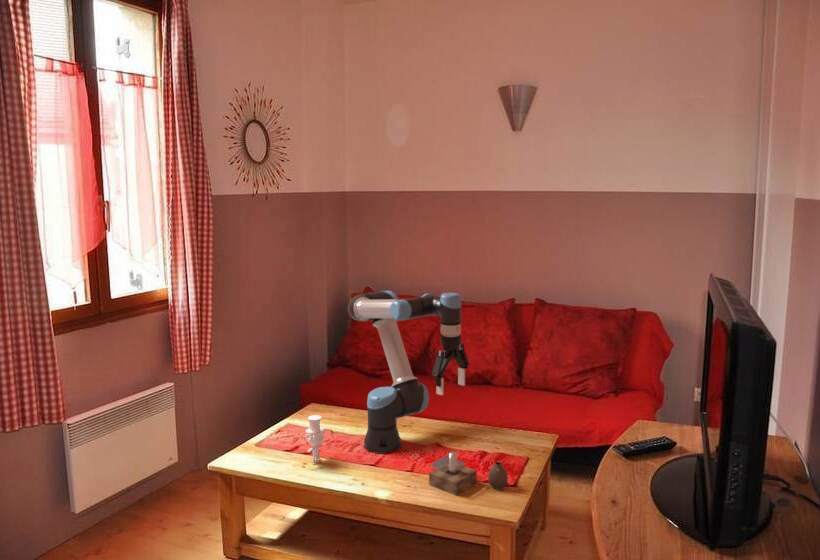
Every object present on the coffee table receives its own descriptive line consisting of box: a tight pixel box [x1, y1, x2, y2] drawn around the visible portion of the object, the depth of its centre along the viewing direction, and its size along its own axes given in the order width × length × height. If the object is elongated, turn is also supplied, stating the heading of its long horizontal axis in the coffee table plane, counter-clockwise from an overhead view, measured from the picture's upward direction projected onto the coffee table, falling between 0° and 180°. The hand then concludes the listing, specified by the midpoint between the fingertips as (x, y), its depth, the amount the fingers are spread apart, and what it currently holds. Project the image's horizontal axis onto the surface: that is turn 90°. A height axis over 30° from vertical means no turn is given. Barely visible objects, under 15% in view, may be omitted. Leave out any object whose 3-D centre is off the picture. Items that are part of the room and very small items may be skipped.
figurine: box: [303, 414, 326, 464], centre depth 249 cm, size 10×8×18 cm
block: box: [428, 462, 478, 497], centre depth 230 cm, size 12×12×5 cm
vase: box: [487, 461, 509, 490], centre depth 229 cm, size 7×7×9 cm
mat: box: [429, 455, 467, 469], centre depth 246 cm, size 10×10×1 cm
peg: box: [448, 451, 458, 476], centre depth 230 cm, size 3×3×12 cm
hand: (450, 389), depth 245 cm, fingers open, 13 cm apart
